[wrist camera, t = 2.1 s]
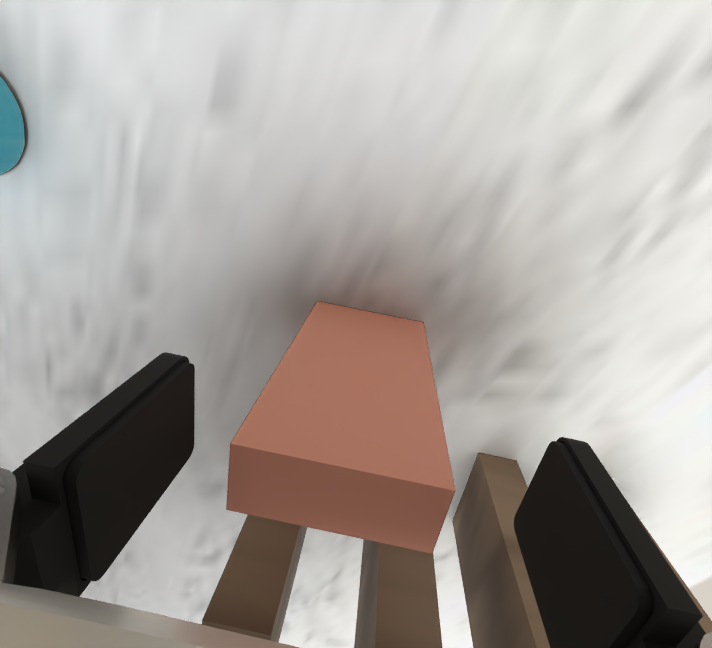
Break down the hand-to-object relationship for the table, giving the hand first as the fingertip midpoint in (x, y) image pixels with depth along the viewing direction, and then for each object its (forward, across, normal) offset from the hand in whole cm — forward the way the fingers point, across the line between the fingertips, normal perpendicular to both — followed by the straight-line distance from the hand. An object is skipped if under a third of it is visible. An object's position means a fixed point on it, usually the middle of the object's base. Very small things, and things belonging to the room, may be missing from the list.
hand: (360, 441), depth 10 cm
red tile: (+8, 0, +1) cm, 8 cm away
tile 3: (+8, -2, +9) cm, 12 cm away
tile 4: (+8, +2, +9) cm, 12 cm away
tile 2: (+8, -8, +9) cm, 14 cm away
